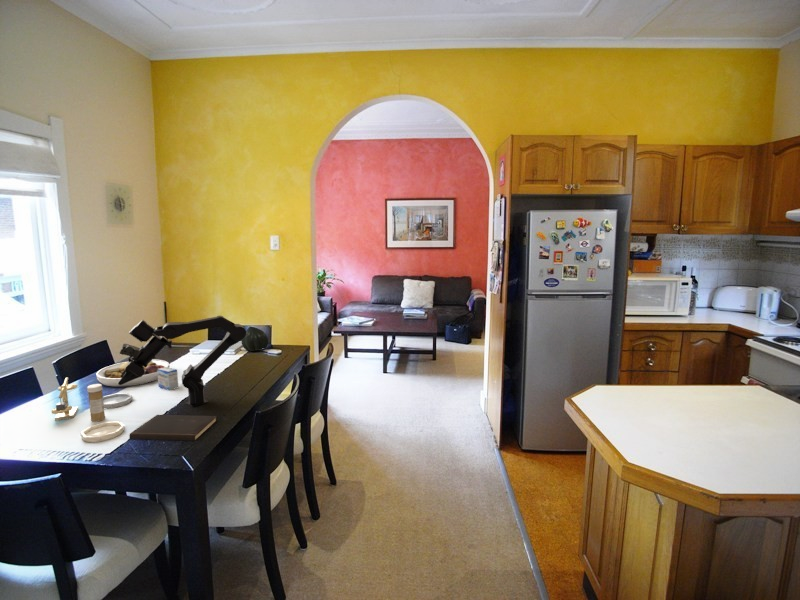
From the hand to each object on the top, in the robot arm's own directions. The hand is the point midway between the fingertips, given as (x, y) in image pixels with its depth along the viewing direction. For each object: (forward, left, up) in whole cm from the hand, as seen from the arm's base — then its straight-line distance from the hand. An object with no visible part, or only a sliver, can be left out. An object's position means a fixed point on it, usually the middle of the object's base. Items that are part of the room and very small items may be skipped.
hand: (120, 380), depth 165 cm
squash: (+45, -84, -14) cm, 96 cm away
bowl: (+45, -19, -14) cm, 51 cm away
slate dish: (+16, -2, -14) cm, 22 cm away
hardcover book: (-28, -8, -15) cm, 32 cm away
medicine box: (+18, -24, -14) cm, 33 cm away
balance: (+16, +14, -14) cm, 26 cm away
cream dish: (-13, +10, -14) cm, 21 cm away
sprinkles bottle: (+2, +8, -14) cm, 16 cm away
